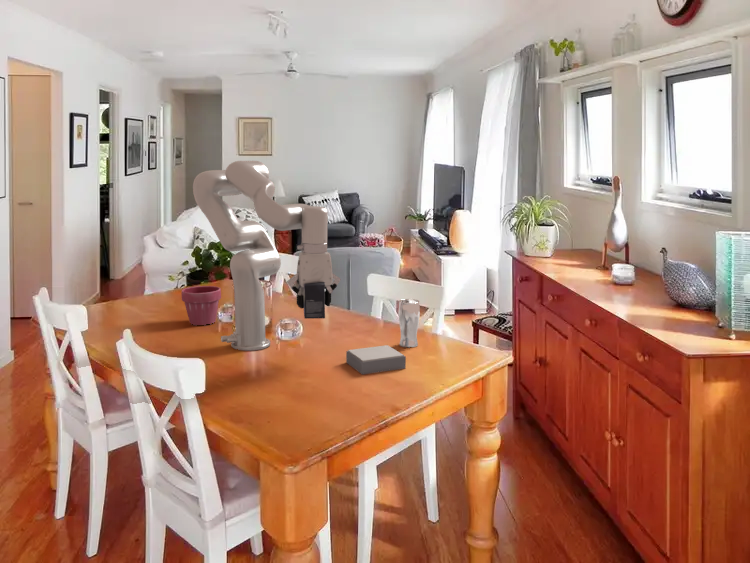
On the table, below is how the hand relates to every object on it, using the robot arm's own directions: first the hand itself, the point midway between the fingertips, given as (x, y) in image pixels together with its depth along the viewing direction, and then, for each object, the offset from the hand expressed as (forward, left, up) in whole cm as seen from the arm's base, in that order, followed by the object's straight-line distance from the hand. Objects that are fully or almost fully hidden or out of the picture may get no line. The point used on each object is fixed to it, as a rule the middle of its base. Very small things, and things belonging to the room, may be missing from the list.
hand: (313, 306), depth 200 cm
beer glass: (+34, +4, -17) cm, 39 cm away
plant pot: (-23, +60, -17) cm, 66 cm away
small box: (0, 0, -3) cm, 3 cm away
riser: (+15, -11, -17) cm, 26 cm away
